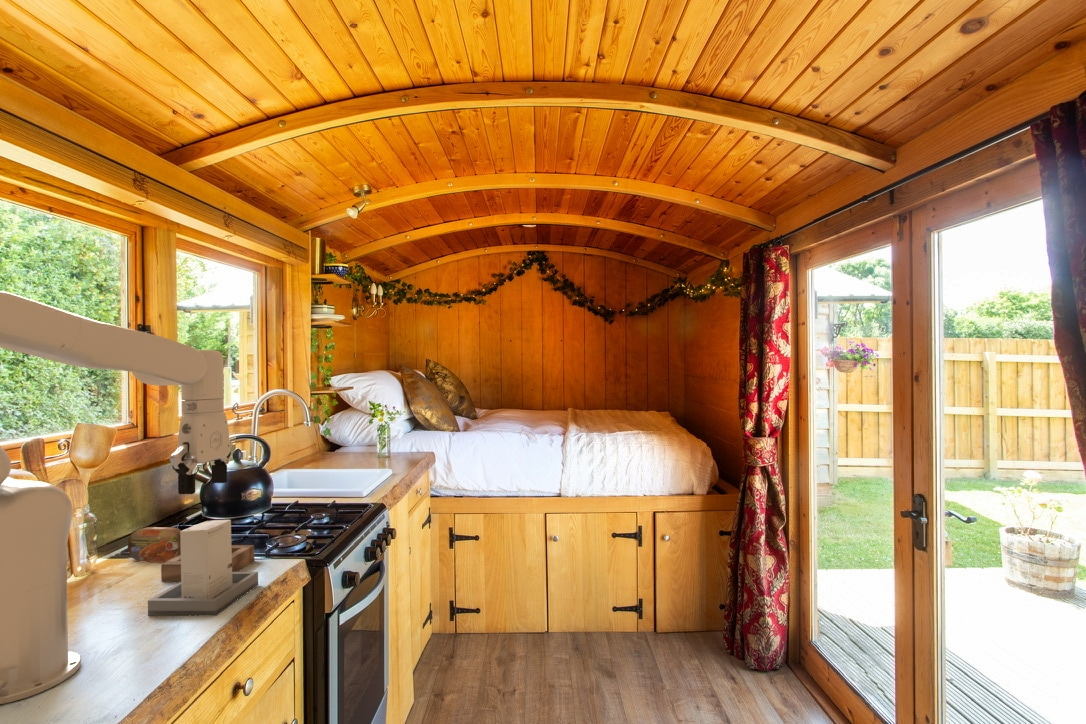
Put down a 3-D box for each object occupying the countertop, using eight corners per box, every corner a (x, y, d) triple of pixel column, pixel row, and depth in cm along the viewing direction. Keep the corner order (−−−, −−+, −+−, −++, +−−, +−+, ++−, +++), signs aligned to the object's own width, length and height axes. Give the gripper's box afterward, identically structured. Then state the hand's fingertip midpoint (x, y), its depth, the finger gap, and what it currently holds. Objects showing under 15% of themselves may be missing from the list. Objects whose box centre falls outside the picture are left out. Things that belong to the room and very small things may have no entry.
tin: (126, 561, 131) (126, 528, 132) (138, 556, 135) (137, 524, 135) (178, 563, 129) (177, 530, 129) (188, 558, 132) (188, 526, 132)
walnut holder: (221, 581, 118) (221, 564, 118) (161, 581, 118) (161, 564, 118) (254, 560, 130) (254, 545, 130) (199, 560, 131) (199, 545, 131)
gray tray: (215, 615, 101) (215, 600, 101) (148, 615, 102) (147, 600, 102) (258, 585, 115) (258, 571, 115) (198, 585, 116) (198, 571, 116)
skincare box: (207, 603, 105) (206, 530, 105) (179, 603, 105) (178, 530, 105) (234, 585, 113) (232, 518, 113) (207, 585, 113) (206, 518, 113)
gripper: (190, 411, 100) (191, 498, 100) (245, 404, 117) (246, 479, 117) (153, 411, 100) (154, 498, 100) (213, 404, 118) (214, 479, 117)
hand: (203, 488), depth 109 cm, fingers open, 9 cm apart
